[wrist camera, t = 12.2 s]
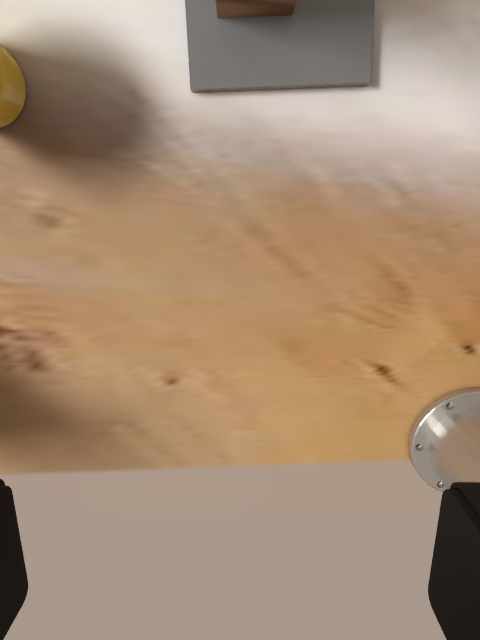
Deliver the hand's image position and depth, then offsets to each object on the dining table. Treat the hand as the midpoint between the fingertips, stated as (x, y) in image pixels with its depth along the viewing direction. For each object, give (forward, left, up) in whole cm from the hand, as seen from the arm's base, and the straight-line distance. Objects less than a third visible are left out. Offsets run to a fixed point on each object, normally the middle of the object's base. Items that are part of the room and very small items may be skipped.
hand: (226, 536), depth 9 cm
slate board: (-4, -22, -32) cm, 39 cm away
